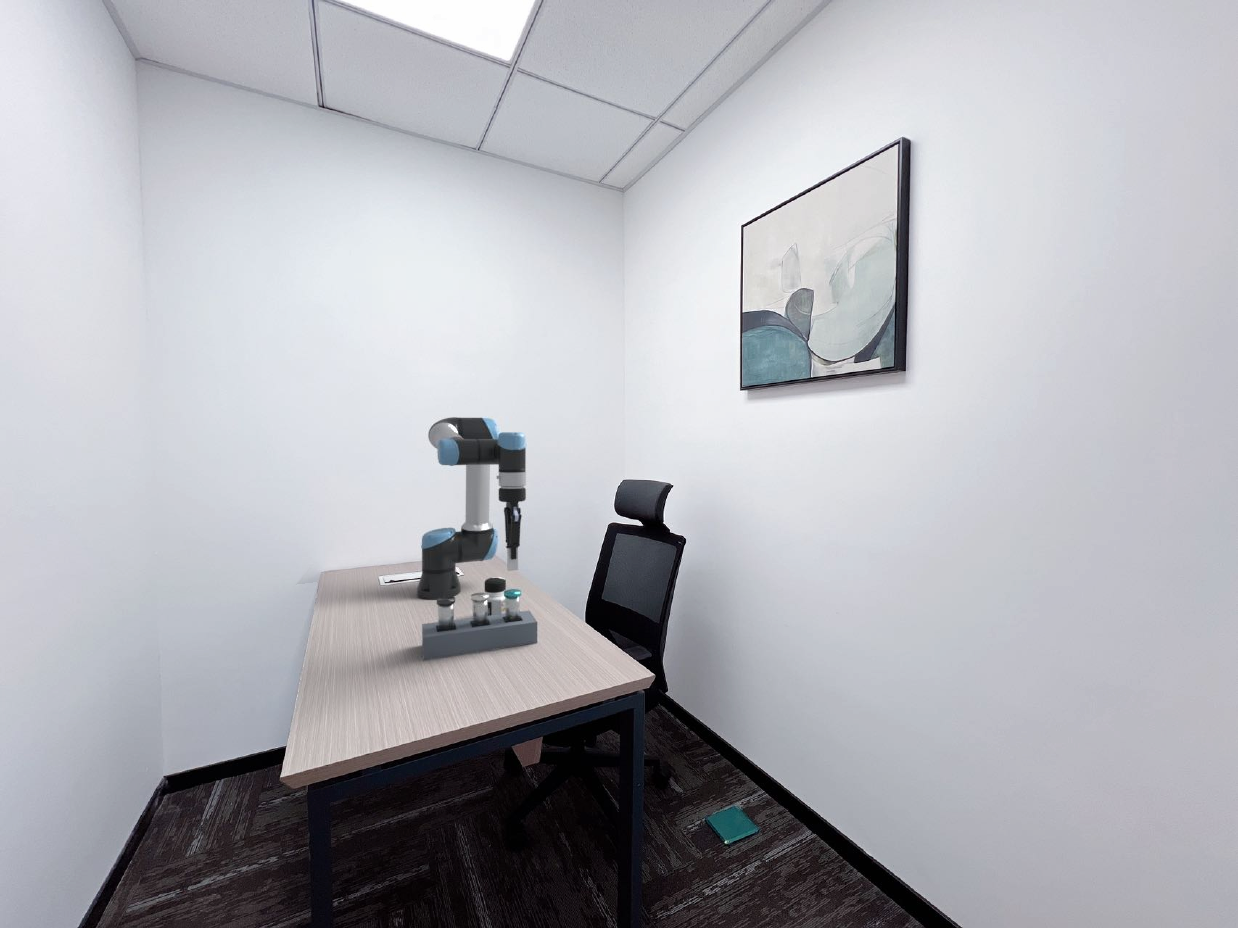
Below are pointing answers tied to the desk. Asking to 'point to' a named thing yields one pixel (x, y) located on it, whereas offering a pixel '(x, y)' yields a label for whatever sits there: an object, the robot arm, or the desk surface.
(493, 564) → the desk surface
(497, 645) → the mount
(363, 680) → the desk surface
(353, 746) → the desk surface
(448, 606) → the knob black
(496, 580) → the container
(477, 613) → the knob ivory
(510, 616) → the knob teal
